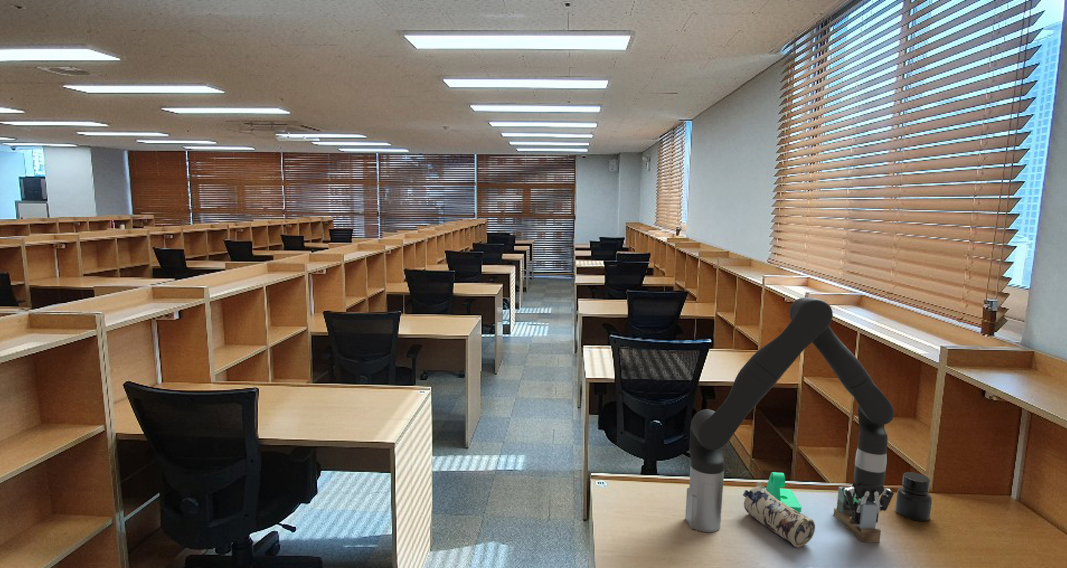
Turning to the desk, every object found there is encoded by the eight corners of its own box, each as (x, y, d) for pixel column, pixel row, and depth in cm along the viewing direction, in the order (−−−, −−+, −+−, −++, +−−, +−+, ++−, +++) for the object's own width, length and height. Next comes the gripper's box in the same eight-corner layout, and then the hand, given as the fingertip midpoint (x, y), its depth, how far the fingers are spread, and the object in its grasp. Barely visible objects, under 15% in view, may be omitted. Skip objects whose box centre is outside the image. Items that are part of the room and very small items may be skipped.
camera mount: (801, 516, 180) (804, 483, 178) (775, 513, 181) (777, 481, 179) (790, 497, 191) (793, 466, 190) (765, 495, 193) (767, 464, 191)
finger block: (861, 528, 167) (863, 505, 166) (853, 521, 171) (855, 498, 170) (875, 529, 167) (877, 505, 166) (866, 521, 171) (869, 498, 170)
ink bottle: (938, 520, 179) (942, 482, 177) (916, 524, 176) (920, 486, 174) (908, 504, 188) (912, 468, 186) (887, 508, 185) (891, 471, 184)
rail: (861, 541, 166) (864, 511, 165) (833, 514, 181) (836, 485, 180) (879, 542, 166) (882, 511, 165) (849, 514, 181) (852, 486, 180)
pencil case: (739, 514, 180) (741, 483, 179) (762, 510, 183) (764, 479, 181) (793, 554, 159) (796, 519, 158) (818, 548, 162) (821, 514, 161)
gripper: (852, 470, 163) (846, 530, 165) (904, 471, 163) (897, 530, 165) (838, 459, 170) (832, 516, 173) (887, 460, 171) (881, 517, 173)
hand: (864, 523), depth 169 cm, fingers closed on finger block, 4 cm apart
